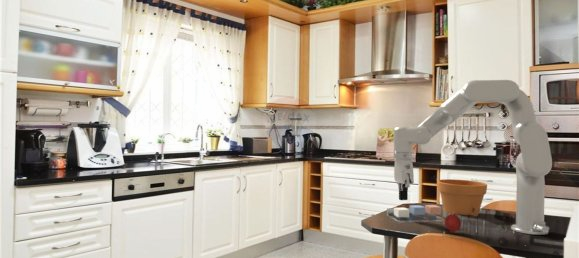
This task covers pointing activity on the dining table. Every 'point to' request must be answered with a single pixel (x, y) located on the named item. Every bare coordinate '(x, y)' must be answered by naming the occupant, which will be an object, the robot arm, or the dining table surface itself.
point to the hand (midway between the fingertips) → (403, 199)
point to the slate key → (417, 209)
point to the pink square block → (432, 209)
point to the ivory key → (401, 212)
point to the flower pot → (462, 196)
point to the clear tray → (414, 217)
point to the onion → (452, 222)
